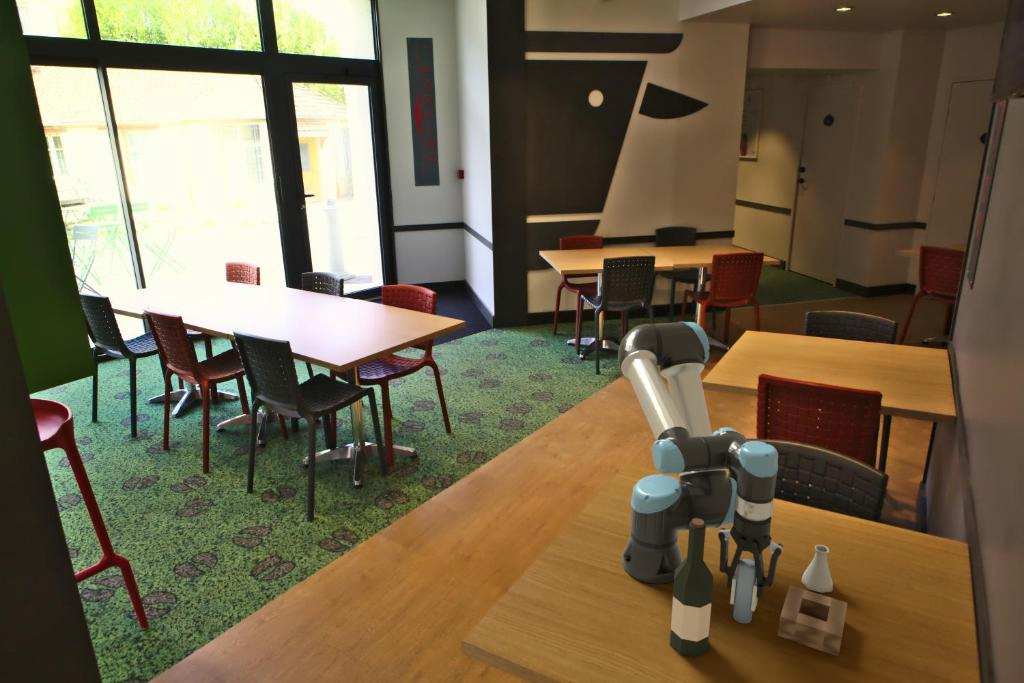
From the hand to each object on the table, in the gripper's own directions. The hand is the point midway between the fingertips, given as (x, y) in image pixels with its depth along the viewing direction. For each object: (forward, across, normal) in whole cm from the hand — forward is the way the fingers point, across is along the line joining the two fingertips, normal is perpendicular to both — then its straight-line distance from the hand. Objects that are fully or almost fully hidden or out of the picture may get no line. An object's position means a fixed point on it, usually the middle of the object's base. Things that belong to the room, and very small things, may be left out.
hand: (743, 603), depth 145 cm
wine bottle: (+4, -8, -14) cm, 17 cm away
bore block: (+4, +14, +4) cm, 15 cm away
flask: (+4, +13, +21) cm, 25 cm away
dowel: (+4, 0, 0) cm, 4 cm away
